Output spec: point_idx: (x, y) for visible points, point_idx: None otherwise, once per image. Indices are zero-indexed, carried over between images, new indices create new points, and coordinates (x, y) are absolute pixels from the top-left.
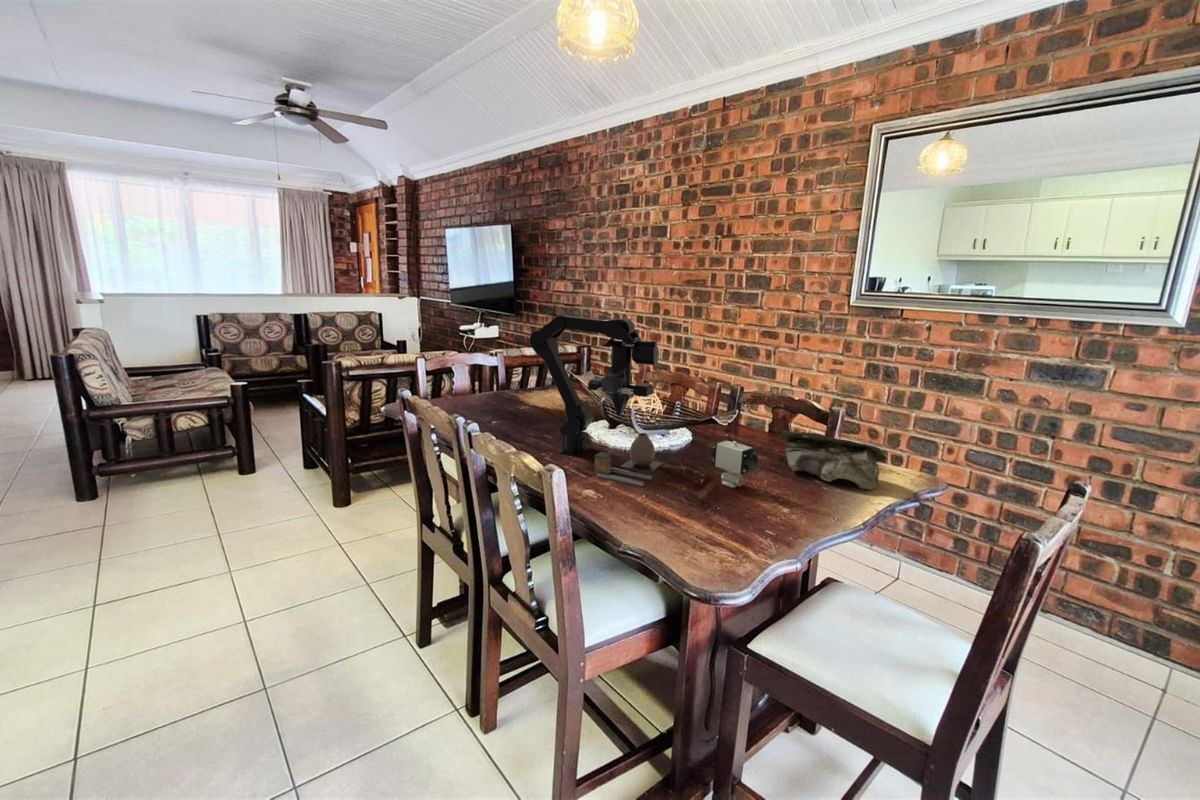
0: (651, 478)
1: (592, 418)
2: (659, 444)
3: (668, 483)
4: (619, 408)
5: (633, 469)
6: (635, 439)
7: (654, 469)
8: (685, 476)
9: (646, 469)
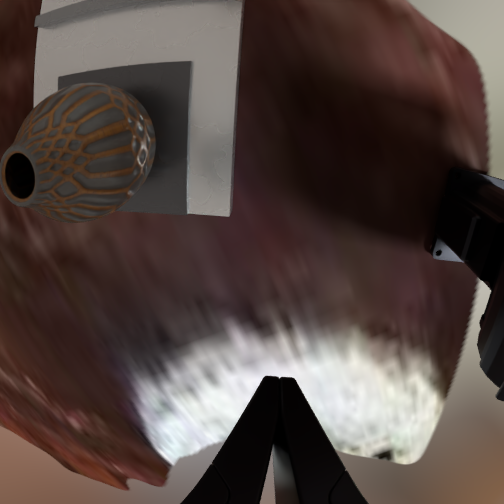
0: (41, 27)
1: (485, 357)
2: (204, 409)
3: (16, 72)
4: (260, 440)
5: (126, 65)
6: (74, 141)
7: None
8: None
9: None
